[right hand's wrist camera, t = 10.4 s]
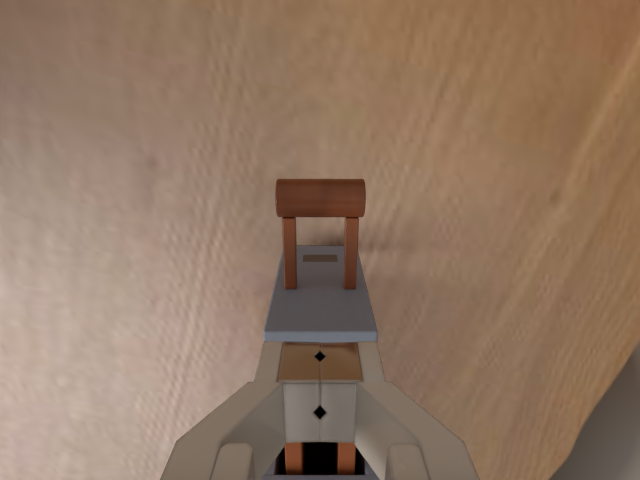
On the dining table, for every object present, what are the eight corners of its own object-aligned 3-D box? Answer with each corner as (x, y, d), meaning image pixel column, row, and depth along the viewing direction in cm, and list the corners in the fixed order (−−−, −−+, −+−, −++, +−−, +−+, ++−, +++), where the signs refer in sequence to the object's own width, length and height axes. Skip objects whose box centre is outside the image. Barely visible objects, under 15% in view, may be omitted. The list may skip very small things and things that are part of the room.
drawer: (280, 159, 23) (255, 201, 14) (359, 159, 23) (386, 201, 14) (291, 465, 31) (279, 614, 22) (348, 465, 31) (360, 614, 22)
